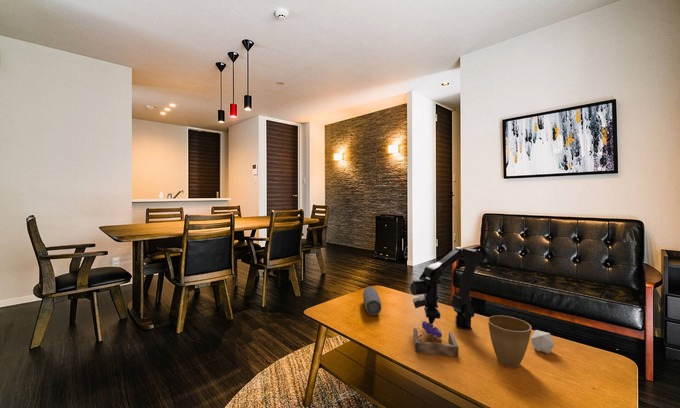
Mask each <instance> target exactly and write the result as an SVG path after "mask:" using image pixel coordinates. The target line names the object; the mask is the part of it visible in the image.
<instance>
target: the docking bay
mask: <svg viewBox="0 0 680 408" xmlns="http://www.w3.org/2000/svg"><path fill="white" fill-rule="evenodd" d="M412 331H413V333H412V335H413V336H412V338H413V344H414V353H421V354H428V355H429V354H431V355H439V356H447V357H456V358H459V345H458V342H457V340H456V338H455V335H454V333H453V331H448V343H449V344H448V343H439V342H431V341H430V342H429V341H422V340H421V341H420V340H419V338H420V337H419V331H418V328H413V329H412Z"/></svg>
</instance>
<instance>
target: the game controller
mask: <svg viewBox="0 0 680 408" xmlns="http://www.w3.org/2000/svg"><path fill="white" fill-rule="evenodd" d="M426 319H427V317H425V318H423V320H421V321H420V323H421V324H419V326H418V328H417V330H419V328H420V325H421V328H422V329H424V330H425V332H426V333H427V334H428V336H429V340H430V341H432V339H431V337H434V338H442V336H443V334H442V332H441V331H442V330H441V329H440V328H438V327H436V326H434V324H431V323H429V321H428V322H427V321H426ZM430 319H431V318H430ZM435 320H436V319H435ZM435 320H434V322H435V323H437V325H439V323H438V322H437V321H435ZM421 337H422V334H420V335H418V338H421Z"/></svg>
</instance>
